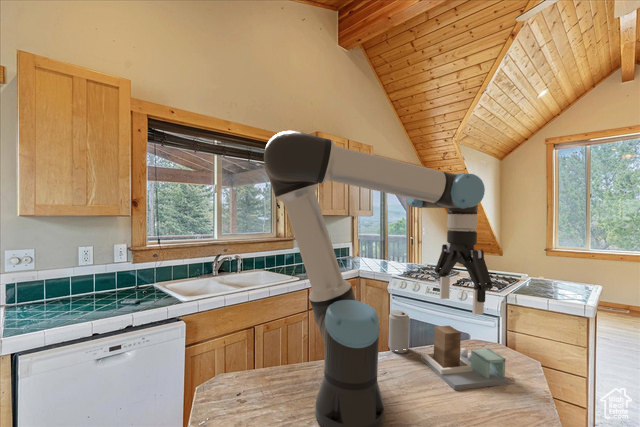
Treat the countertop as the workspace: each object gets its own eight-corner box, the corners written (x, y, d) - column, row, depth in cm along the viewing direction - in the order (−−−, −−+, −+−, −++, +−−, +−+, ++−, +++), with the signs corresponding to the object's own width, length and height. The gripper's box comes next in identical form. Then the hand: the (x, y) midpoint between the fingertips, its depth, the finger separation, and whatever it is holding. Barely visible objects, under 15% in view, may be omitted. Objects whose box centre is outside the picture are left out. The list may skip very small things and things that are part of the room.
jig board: (453, 390, 76) (453, 377, 76) (420, 359, 92) (420, 348, 92) (508, 383, 80) (508, 371, 80) (467, 355, 95) (467, 344, 95)
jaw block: (443, 369, 84) (445, 333, 84) (433, 360, 89) (434, 326, 89) (459, 367, 85) (460, 332, 85) (448, 358, 90) (449, 325, 90)
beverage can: (409, 355, 94) (410, 317, 94) (388, 352, 96) (389, 315, 96) (407, 346, 101) (408, 310, 100) (388, 344, 102) (388, 308, 102)
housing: (486, 378, 80) (487, 360, 79) (470, 366, 85) (471, 349, 85) (504, 376, 81) (505, 358, 81) (488, 365, 87) (488, 348, 87)
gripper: (510, 233, 73) (508, 320, 73) (445, 227, 97) (443, 292, 98) (484, 233, 71) (482, 323, 72) (424, 226, 96) (422, 293, 96)
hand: (459, 305), depth 85 cm, fingers open, 13 cm apart
